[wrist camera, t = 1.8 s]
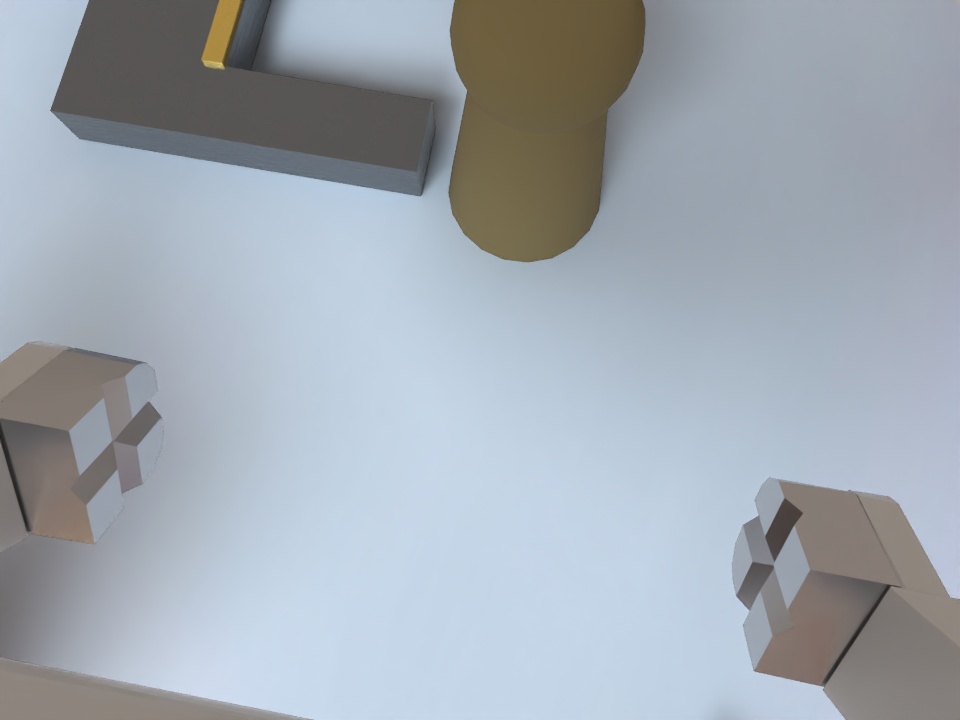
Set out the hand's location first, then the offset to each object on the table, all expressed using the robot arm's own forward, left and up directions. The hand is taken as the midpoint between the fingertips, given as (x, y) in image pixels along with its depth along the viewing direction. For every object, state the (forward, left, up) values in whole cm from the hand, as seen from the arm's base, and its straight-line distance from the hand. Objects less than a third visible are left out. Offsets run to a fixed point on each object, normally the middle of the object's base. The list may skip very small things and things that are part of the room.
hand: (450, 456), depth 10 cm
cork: (0, -12, -17) cm, 21 cm away
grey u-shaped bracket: (+11, -18, -16) cm, 27 cm away
